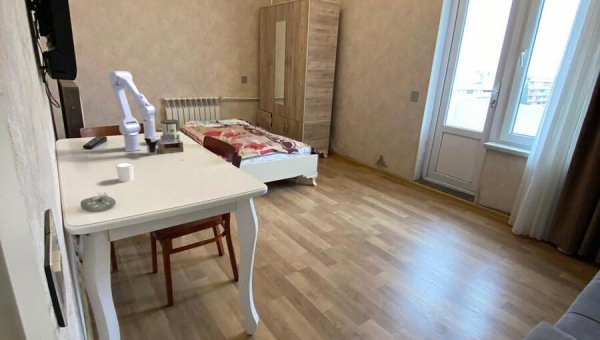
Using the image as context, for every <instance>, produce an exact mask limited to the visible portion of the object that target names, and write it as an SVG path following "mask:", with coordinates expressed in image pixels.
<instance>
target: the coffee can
mask: <svg viewBox="0 0 600 340" xmlns="http://www.w3.org/2000/svg"><path fill="white" fill-rule="evenodd" d="M160 123H161V132H162V135H173V134H174V136H175V138H178V139H179V140H180V139H181V138H180V125H179V124H180V123H179V120H178V119H163V120H161V121H160ZM180 141H181V140H180Z"/></svg>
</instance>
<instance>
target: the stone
mask: <svg viewBox="0 0 600 340" xmlns="http://www.w3.org/2000/svg"><path fill="white" fill-rule="evenodd" d="M146 154H147V155H148V156H154V155H158V153H157V147H156V148H155V152H154V153H151V152H150V149H149V145H148V146H147V145H146Z"/></svg>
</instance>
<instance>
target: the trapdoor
mask: <svg viewBox="0 0 600 340" xmlns="http://www.w3.org/2000/svg"><path fill="white" fill-rule="evenodd" d="M159 136H160V141H161V142H162V143H163V144H170V143H179V141H177V140H176V139H175V136H174V134H173V135H163V134H162V135H159Z"/></svg>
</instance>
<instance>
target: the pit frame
mask: <svg viewBox="0 0 600 340" xmlns="http://www.w3.org/2000/svg"><path fill="white" fill-rule="evenodd" d="M160 139H161V138H160ZM160 139H156V140H157V141H158V142H157V144H156V146H157V149H158V151H159V152H160V153H161V154H162V155H165V154H175V153H184V142H183V141H181V140H179V139H178V138H175V139H176V140H177V141H179V143H170V144H163V143H162V142H161V141H160Z"/></svg>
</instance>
